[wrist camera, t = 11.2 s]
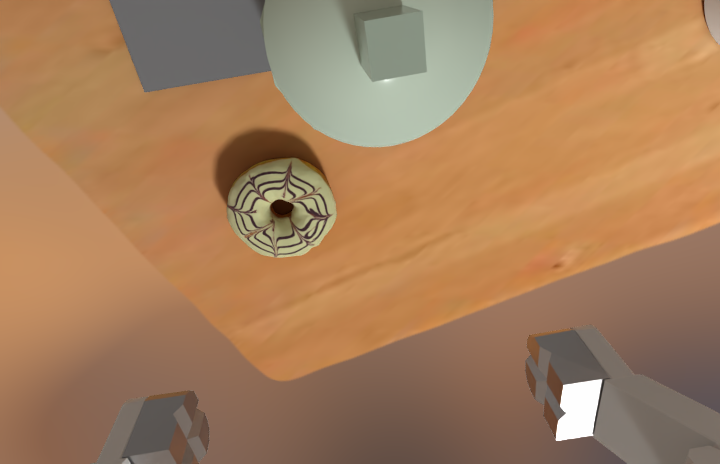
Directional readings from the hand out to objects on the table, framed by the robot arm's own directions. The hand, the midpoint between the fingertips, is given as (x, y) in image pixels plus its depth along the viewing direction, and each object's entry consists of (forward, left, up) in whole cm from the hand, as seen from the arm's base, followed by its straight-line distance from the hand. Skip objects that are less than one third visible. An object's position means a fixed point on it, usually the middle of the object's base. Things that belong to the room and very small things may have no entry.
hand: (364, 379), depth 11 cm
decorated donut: (+7, +11, -36) cm, 38 cm away
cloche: (-3, -5, -35) cm, 35 cm away
